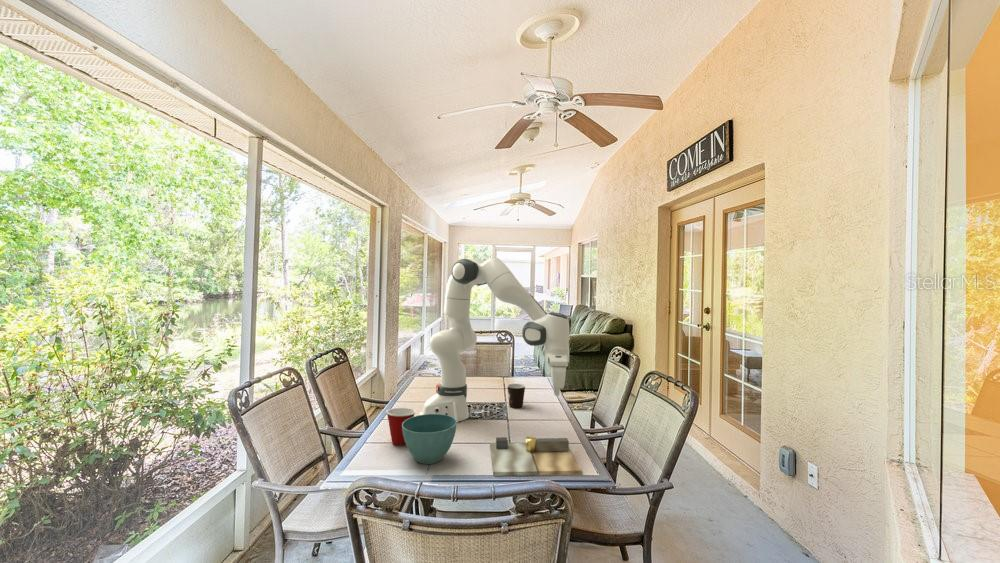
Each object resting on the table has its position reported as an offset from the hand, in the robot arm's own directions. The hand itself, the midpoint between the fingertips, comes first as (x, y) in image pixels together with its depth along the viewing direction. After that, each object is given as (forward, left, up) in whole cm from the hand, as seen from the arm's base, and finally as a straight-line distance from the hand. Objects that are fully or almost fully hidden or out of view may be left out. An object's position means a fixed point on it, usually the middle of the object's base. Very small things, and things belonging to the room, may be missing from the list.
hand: (556, 394), depth 147 cm
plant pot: (-45, -8, -19) cm, 50 cm away
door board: (-10, -10, -19) cm, 24 cm away
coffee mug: (-9, +49, -19) cm, 53 cm away
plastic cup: (-57, +6, -19) cm, 61 cm away
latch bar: (-5, -6, -18) cm, 19 cm away
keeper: (-20, -3, -18) cm, 27 cm away
